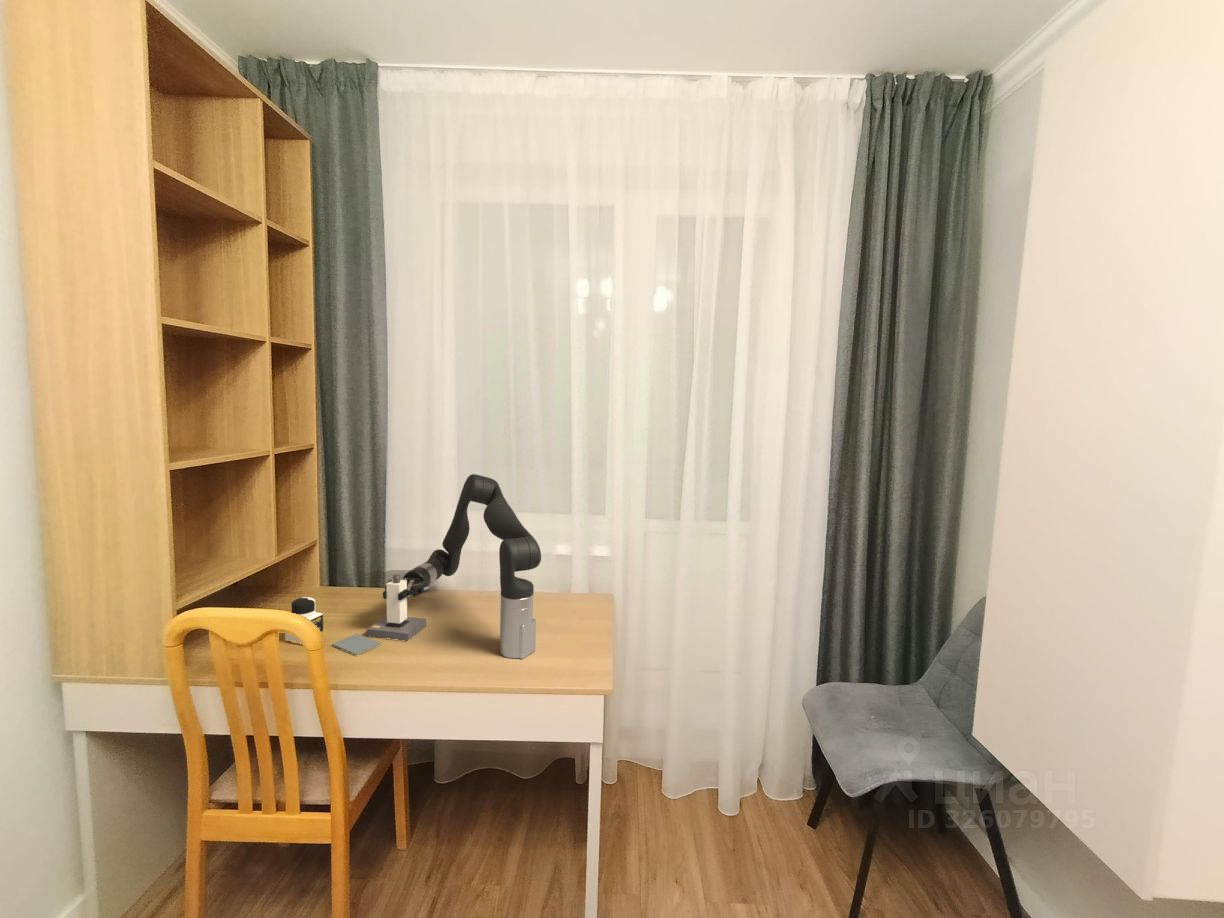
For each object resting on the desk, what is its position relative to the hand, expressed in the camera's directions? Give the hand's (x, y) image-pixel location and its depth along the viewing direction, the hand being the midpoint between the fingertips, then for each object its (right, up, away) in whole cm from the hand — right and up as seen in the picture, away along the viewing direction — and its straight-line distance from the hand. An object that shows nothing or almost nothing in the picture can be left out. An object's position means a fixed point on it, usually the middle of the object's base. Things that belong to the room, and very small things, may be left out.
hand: (391, 596), depth 165 cm
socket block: (0, -12, +4) cm, 13 cm away
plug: (0, -8, +4) cm, 9 cm away
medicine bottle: (-25, -12, -3) cm, 27 cm away
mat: (-8, -13, -6) cm, 16 cm away
